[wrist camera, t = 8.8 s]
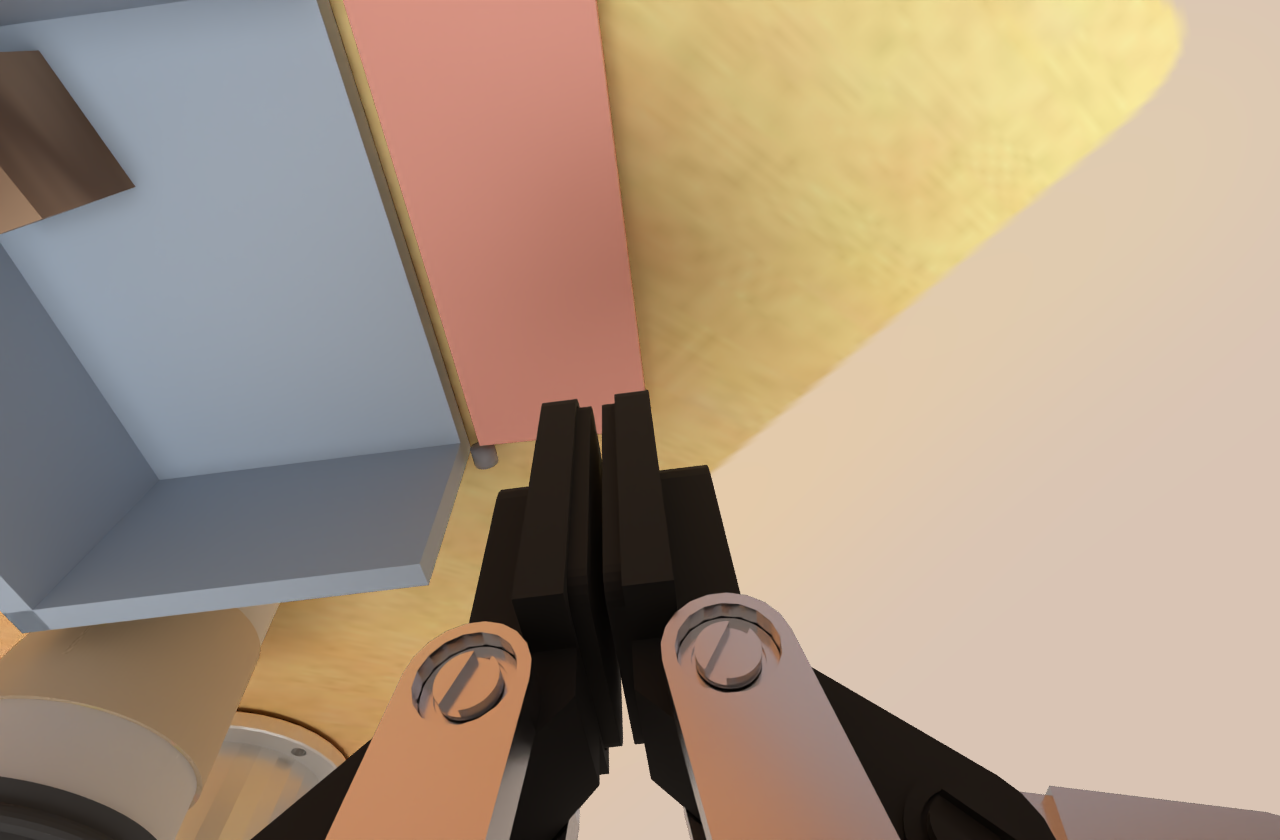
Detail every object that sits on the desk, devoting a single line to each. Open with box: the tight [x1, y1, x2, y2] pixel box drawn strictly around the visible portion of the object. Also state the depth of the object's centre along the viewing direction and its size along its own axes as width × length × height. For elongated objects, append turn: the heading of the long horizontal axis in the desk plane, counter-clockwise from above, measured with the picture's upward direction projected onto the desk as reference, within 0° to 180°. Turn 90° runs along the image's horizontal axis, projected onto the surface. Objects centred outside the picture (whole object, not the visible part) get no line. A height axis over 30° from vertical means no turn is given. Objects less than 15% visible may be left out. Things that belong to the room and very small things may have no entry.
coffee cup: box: [0, 603, 280, 840], centre depth 24 cm, size 9×9×15 cm
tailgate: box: [343, 0, 645, 446], centre depth 22 cm, size 16×1×7 cm
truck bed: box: [0, 0, 498, 633], centre depth 20 cm, size 18×15×8 cm
